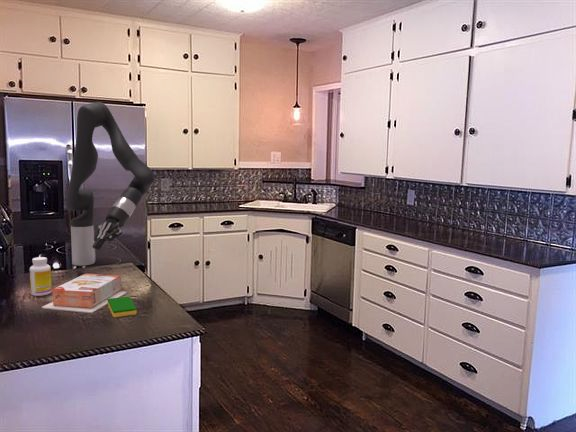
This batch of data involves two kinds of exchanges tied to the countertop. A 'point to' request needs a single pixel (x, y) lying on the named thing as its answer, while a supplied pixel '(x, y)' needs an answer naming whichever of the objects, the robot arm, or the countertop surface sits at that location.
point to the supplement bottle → (40, 277)
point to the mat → (84, 309)
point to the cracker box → (86, 290)
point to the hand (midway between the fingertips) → (95, 248)
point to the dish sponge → (121, 306)
